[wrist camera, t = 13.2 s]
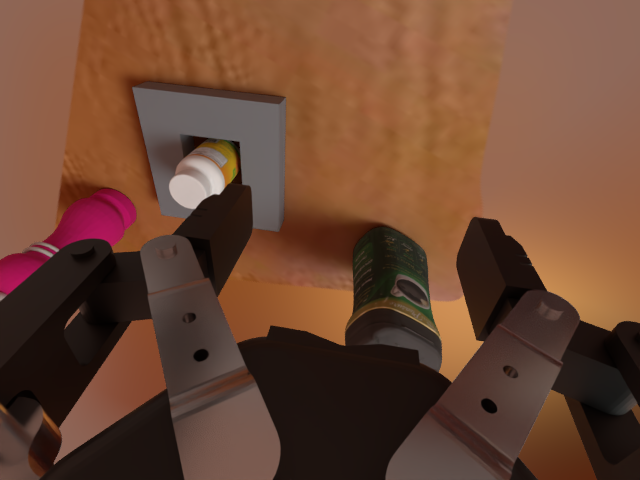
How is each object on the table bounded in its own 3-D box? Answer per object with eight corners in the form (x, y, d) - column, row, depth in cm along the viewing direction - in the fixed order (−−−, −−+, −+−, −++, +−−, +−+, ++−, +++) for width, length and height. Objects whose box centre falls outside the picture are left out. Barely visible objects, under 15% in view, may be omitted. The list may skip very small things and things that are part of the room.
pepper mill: (88, 178, 48) (-61, 271, 32) (138, 193, 48) (16, 293, 32) (95, 219, 52) (-33, 320, 36) (141, 233, 52) (35, 339, 36)
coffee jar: (344, 253, 49) (328, 367, 34) (378, 215, 45) (377, 326, 30) (398, 285, 51) (405, 406, 36) (436, 252, 47) (462, 373, 32)
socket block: (147, 81, 39) (132, 87, 36) (285, 97, 38) (279, 104, 35) (172, 203, 48) (161, 214, 46) (283, 219, 47) (278, 231, 45)
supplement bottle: (231, 184, 45) (200, 223, 37) (195, 159, 44) (154, 195, 36) (251, 153, 42) (221, 189, 34) (212, 126, 41) (172, 157, 33)
